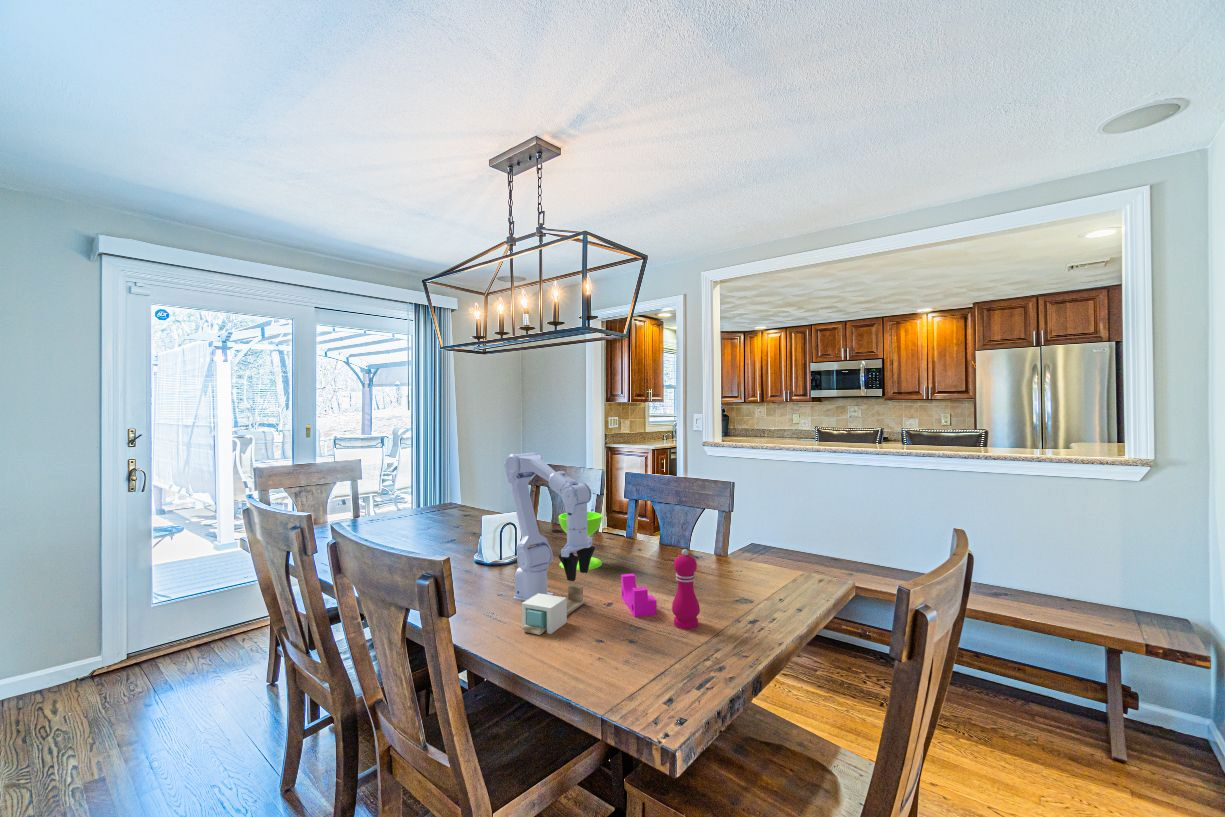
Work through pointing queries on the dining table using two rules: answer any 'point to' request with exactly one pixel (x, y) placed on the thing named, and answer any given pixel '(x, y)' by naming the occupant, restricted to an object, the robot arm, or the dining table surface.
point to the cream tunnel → (548, 603)
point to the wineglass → (592, 526)
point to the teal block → (537, 618)
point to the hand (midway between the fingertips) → (577, 576)
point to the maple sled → (572, 603)
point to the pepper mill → (685, 593)
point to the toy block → (637, 597)
